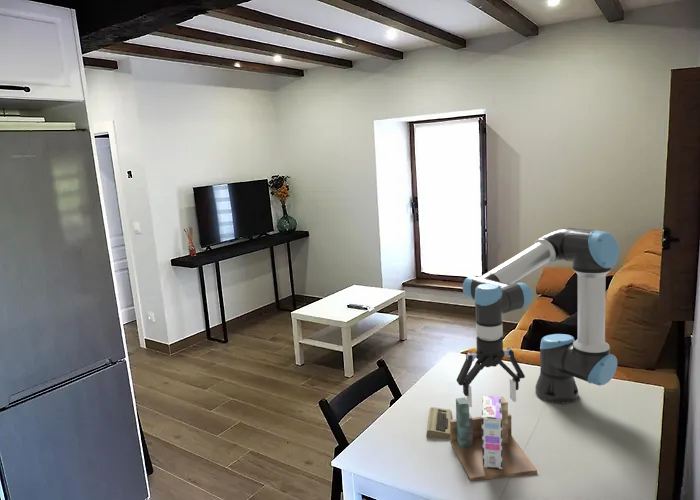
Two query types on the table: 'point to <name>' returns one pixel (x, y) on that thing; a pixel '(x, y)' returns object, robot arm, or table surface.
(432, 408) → the computer
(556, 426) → the table surface
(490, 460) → the candy box
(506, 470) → the shelf
